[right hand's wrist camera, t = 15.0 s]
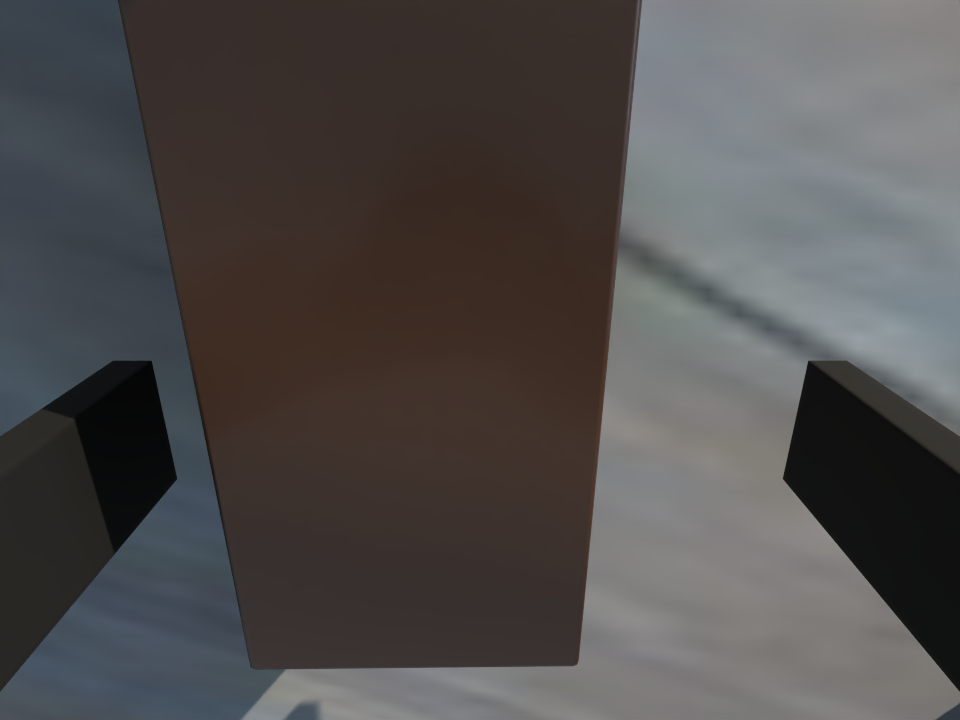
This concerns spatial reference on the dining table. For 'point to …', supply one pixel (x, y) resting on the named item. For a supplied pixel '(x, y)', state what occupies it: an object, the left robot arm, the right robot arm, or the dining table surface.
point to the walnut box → (395, 308)
